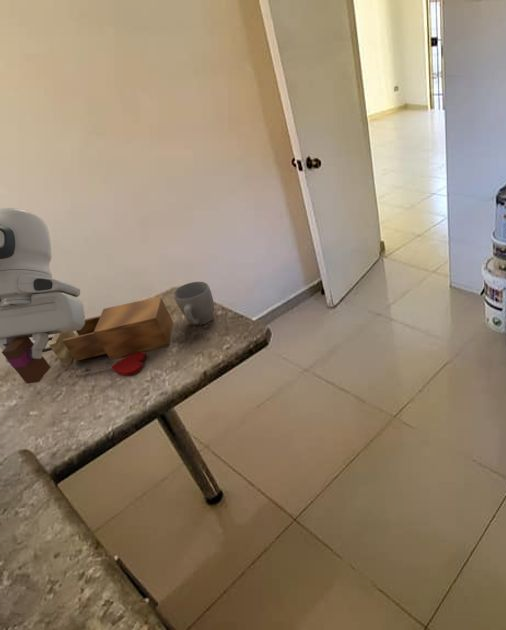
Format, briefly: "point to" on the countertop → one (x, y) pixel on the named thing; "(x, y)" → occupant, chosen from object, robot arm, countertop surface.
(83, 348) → the drawer
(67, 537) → the countertop surface
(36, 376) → the chocolate
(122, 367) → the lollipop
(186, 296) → the mug
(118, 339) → the cabinet
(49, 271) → the robot arm
